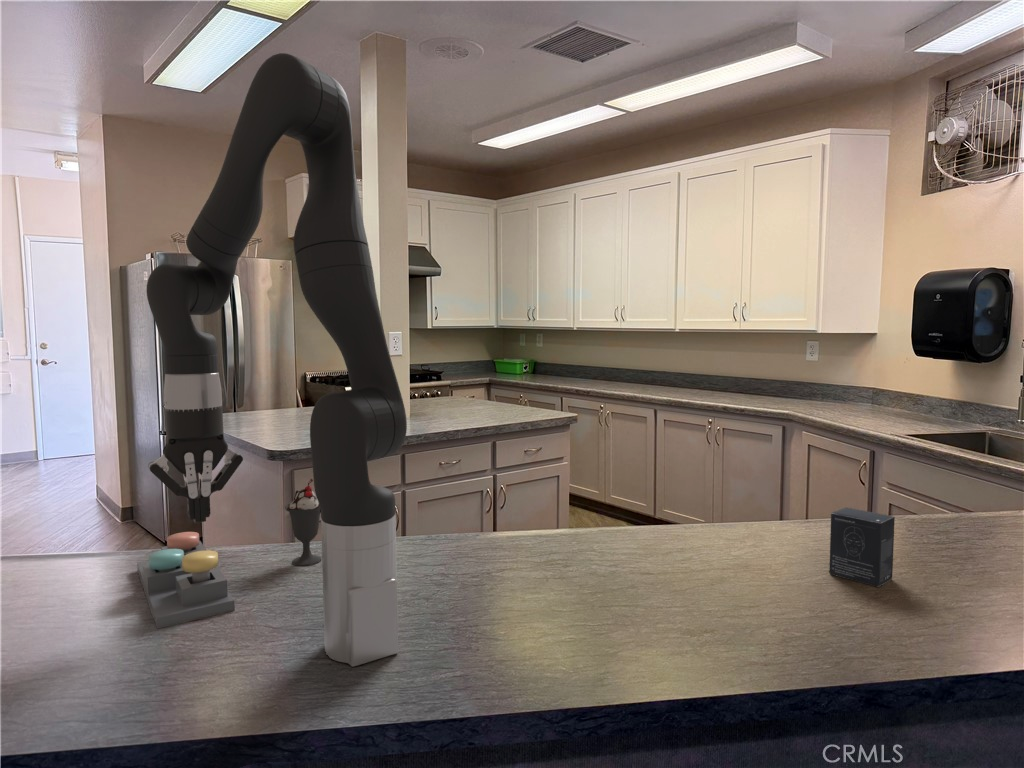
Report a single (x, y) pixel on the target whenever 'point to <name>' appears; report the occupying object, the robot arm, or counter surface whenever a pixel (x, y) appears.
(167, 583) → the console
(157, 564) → the button teal
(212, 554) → the button ochre
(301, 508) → the sundae
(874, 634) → the counter surface
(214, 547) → the counter surface
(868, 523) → the box
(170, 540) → the salmon orange dome button
